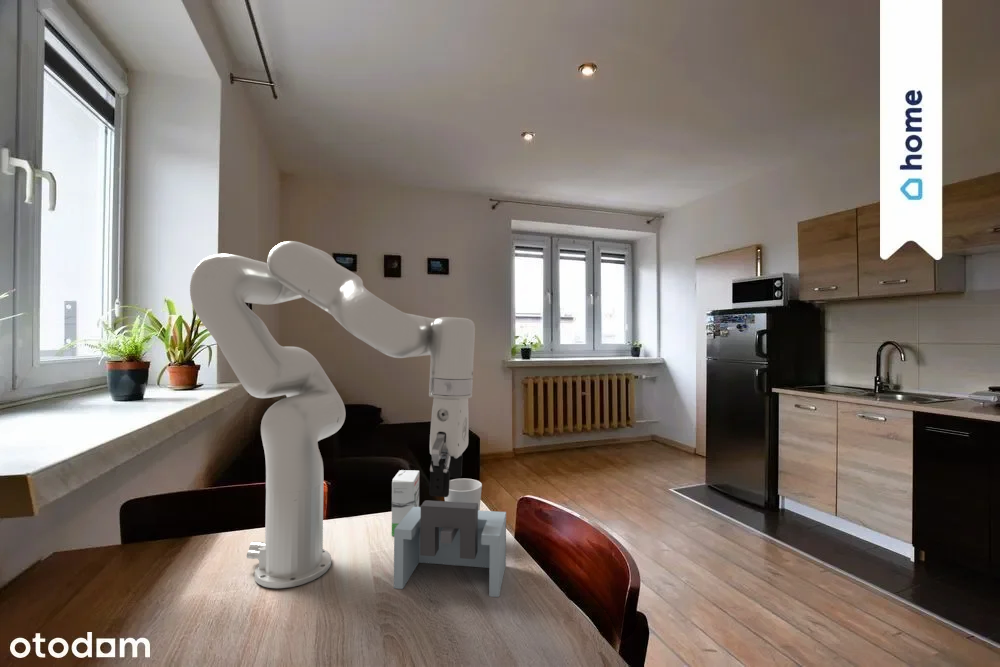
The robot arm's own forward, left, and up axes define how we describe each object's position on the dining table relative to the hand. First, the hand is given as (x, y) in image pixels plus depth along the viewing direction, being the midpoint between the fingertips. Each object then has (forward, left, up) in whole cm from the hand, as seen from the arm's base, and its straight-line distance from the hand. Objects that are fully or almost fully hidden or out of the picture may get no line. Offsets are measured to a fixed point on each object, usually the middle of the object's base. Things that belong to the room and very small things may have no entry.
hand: (446, 485), depth 76 cm
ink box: (-14, +20, -17) cm, 30 cm away
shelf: (+1, +2, -17) cm, 17 cm away
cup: (0, +15, -17) cm, 23 cm away
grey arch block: (+1, 0, -12) cm, 12 cm away
